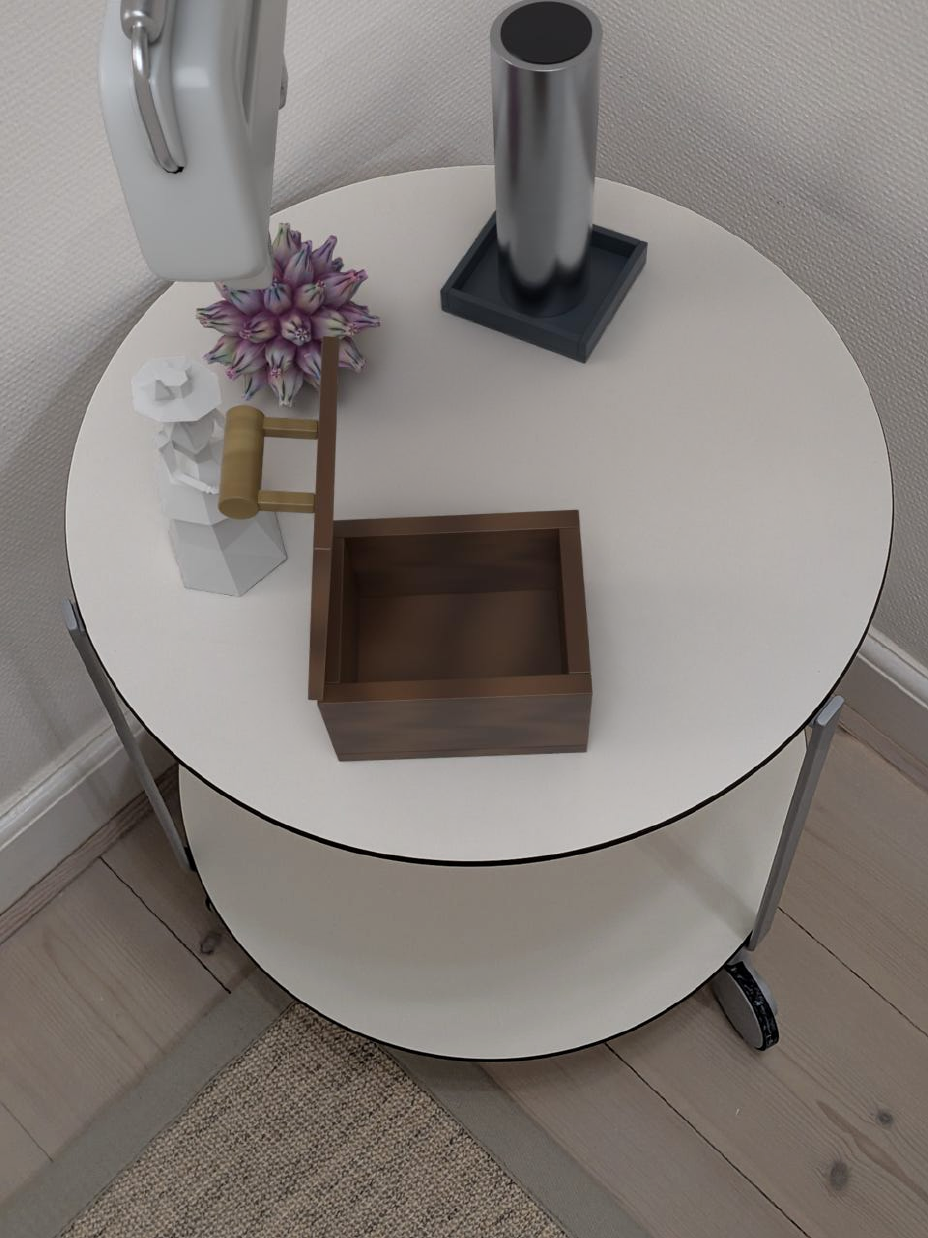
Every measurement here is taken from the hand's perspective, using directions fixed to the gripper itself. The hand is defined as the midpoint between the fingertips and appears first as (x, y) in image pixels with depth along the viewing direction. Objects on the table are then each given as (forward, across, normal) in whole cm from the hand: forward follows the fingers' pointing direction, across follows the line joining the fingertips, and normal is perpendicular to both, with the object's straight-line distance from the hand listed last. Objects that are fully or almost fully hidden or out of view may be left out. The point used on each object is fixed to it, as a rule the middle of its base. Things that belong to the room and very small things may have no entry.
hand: (259, 182), depth 48 cm
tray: (+33, +25, -12) cm, 43 cm away
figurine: (+34, +4, +9) cm, 35 cm away
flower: (+34, +18, +4) cm, 38 cm away
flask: (+33, +25, -12) cm, 43 cm away
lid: (+17, -5, -1) cm, 18 cm away
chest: (+33, -5, -6) cm, 34 cm away
